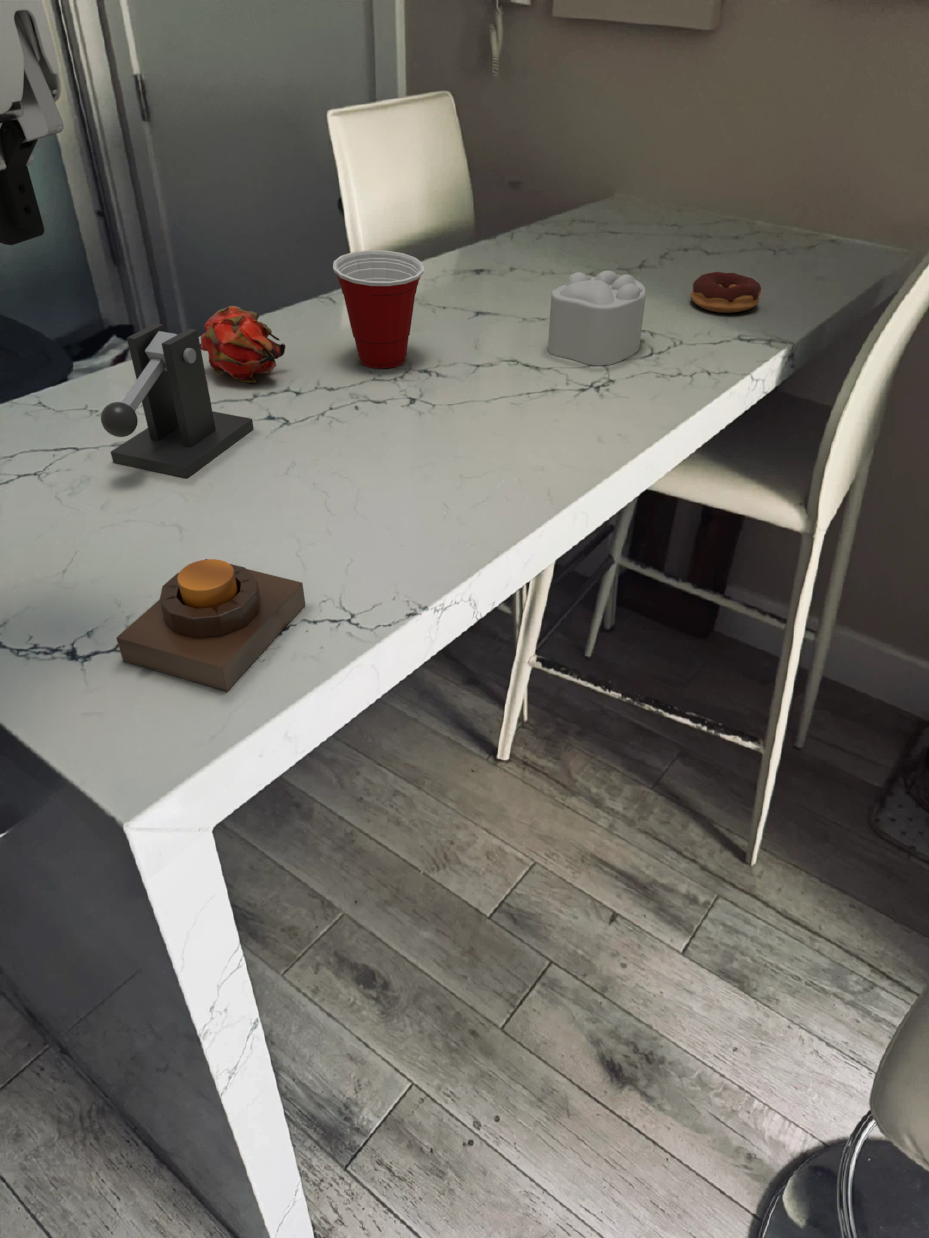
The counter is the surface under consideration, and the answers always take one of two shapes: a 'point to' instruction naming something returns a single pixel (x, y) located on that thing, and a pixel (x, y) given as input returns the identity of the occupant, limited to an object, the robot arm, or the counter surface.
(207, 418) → the ball-topped lever switch base
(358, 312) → the plastic cup
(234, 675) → the control block
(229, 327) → the dragon fruit
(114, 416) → the ball-topped lever switch
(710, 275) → the donut
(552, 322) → the lumpy-topped squat cylinder
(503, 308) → the counter surface
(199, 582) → the warm button
